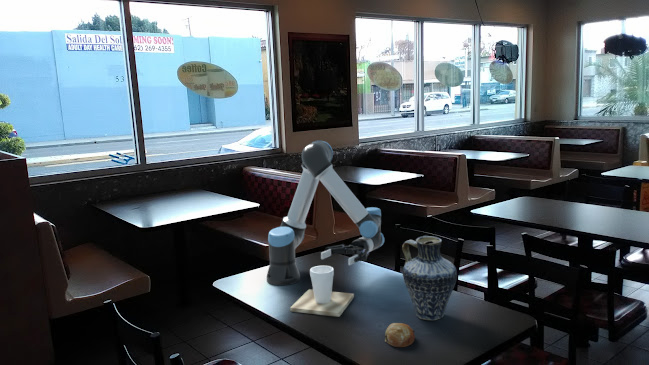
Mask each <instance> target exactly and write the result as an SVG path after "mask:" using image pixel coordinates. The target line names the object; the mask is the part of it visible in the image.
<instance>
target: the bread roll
mask: <svg viewBox="0 0 649 365" xmlns="http://www.w3.org/2000/svg"><path fill="white" fill-rule="evenodd" d="M415 339H416V335H415V330H414V329H413V328H411V326H410V325H408V324H406V323H401V322H393V323H390V324H389V325H388V327H387V328H386V330H385V334H384V342H385V343H387V344H388V345H390V346H392V347H394V348H406V347H408V346H411V345H412V344H413V343H414V342H415Z"/></svg>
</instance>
